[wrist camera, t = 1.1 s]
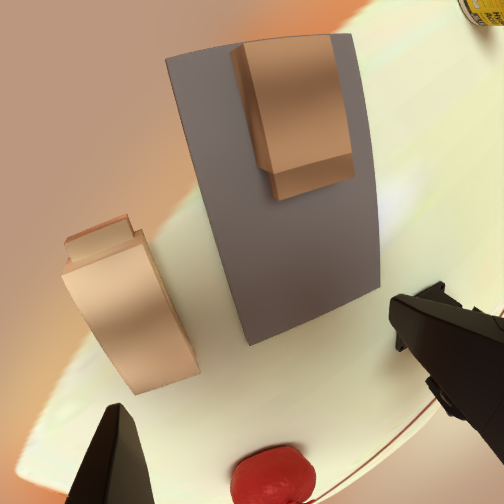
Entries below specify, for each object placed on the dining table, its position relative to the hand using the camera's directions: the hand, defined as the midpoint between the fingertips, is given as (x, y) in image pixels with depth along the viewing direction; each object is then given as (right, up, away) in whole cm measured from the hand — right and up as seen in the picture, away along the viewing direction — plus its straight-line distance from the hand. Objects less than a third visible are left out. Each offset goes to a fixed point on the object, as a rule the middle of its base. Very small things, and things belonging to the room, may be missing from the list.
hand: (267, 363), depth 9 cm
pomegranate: (+1, -22, +24) cm, 32 cm away
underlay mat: (+3, +7, +12) cm, 14 cm away
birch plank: (-8, -1, +11) cm, 14 cm away
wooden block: (+1, +12, +9) cm, 15 cm away
